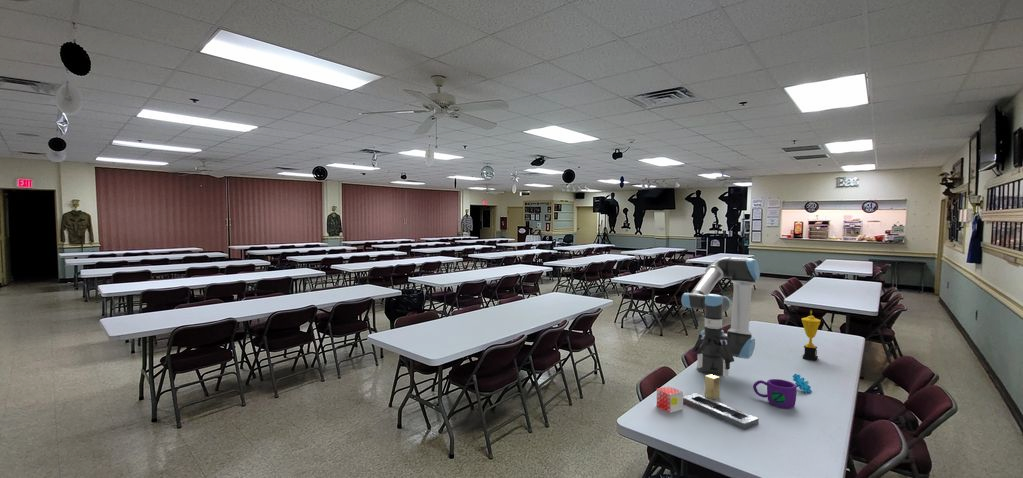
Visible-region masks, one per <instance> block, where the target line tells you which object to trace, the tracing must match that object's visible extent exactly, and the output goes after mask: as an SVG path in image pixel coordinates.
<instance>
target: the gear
mask: <svg viewBox="0 0 1023 478" xmlns="http://www.w3.org/2000/svg"><path fill="white" fill-rule="evenodd" d="M792 381H794V382H795V383H794V384H795V385H796V386H797V388H798V389H800V390H803V391H802V392H804V393H807V394H810V393H811V392H812V389H811V388H812V386H811V385H809V382H810V381H809V380H806V378H804V377H802V376H801V375H800V374H799V373H798V374H797V373H794V374H793V375H792Z"/></svg>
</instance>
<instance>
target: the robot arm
mask: <svg viewBox="0 0 1023 478" xmlns="http://www.w3.org/2000/svg"><path fill="white" fill-rule="evenodd" d="M704 272H705V273H704V274H703V275H702V277H701V278H700V280H699V281H698V282H697V284H696V285H695V286H694V288H693V289H692V290H691V291H690V292H684V293H683V294H682V295H681V305H682V306H683V307H685V308H687V309H695V310H703V311H704V328H703V330H701V332H700V334H698V338H697V341H696V342H695V344H694V346H693V348H692V352H694V353H695V354H696V355H695V356H696V358H695V360H697V364H696V370H697V371H699V372H701V371H702V372H701V373H703V372H704V374H707V373H708V374H707V375H710V374H712V375H713V374H714V375H715V376H718V375H720V376H721V375H722V376H723V377H729V370H730V369H731V363H733V362H735V358H739V359H745V360H746V359H747V360H748V359H750V358H751V357H752V356H753V354H754V350H755V347H756V339H755V338H754V337H753V336H752V335H753V334H752V332H751V331H750V317H751V301H752V289H753V288H752V287H753V286H754V285H755V284H756V281H759V280H760V276H761V271H760V265H759V262H758V261H757V260H756V259H754V258H750V257H733V256H731V257H729V256H726V257H720V258H718V259H715V260H713V261H712V262H711V263H709V265H708V266H707V267H706V268H705V271H704ZM724 278H727V279H730V280H731V281H730V282H731V283H732V284H733V294H732V300H731V299H730V298H729V297H728V296H725V295H720V294H716V293H711V292H712V290H713V289H714V287H715V286H716V284H717V283H718V282H719V281H720V280H722V279H724ZM731 307H732V308H731ZM730 308H731V321H730V324H731V325H730V328H728V330H727V332H726V333H725V332H724V331H725V330H723V329H722V328H723V313H724V312H727V311H728V310H729V309H730Z"/></svg>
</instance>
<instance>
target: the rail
mask: <svg viewBox="0 0 1023 478" xmlns="http://www.w3.org/2000/svg"><path fill="white" fill-rule="evenodd" d="M683 405H687V406H689V407H691V408H693V409H696V410H698V411H700V412H703V413H705V414H708V415H710V416H712V417H714V418H716V419H718V420H720V421H723V422H725V423H728V424H730V425H733V426H735V427H737V428H739V429H742V430H743V431H745V430H747V429H750V428H752V427H756V426H757V425H759V424H760V421H759V420H760V419H759V417H756V416H755V415H751V414H749V413H747V412H744V411H742V410H739V409H737V408H734V407H732V406H729V405H727V404H725V403H721V402H719V401H717V400H715V399H714V400H713V399H710V398H708V397H705V395H701V394H700V393H696V392H694V393H691V394H687V395H683Z"/></svg>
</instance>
